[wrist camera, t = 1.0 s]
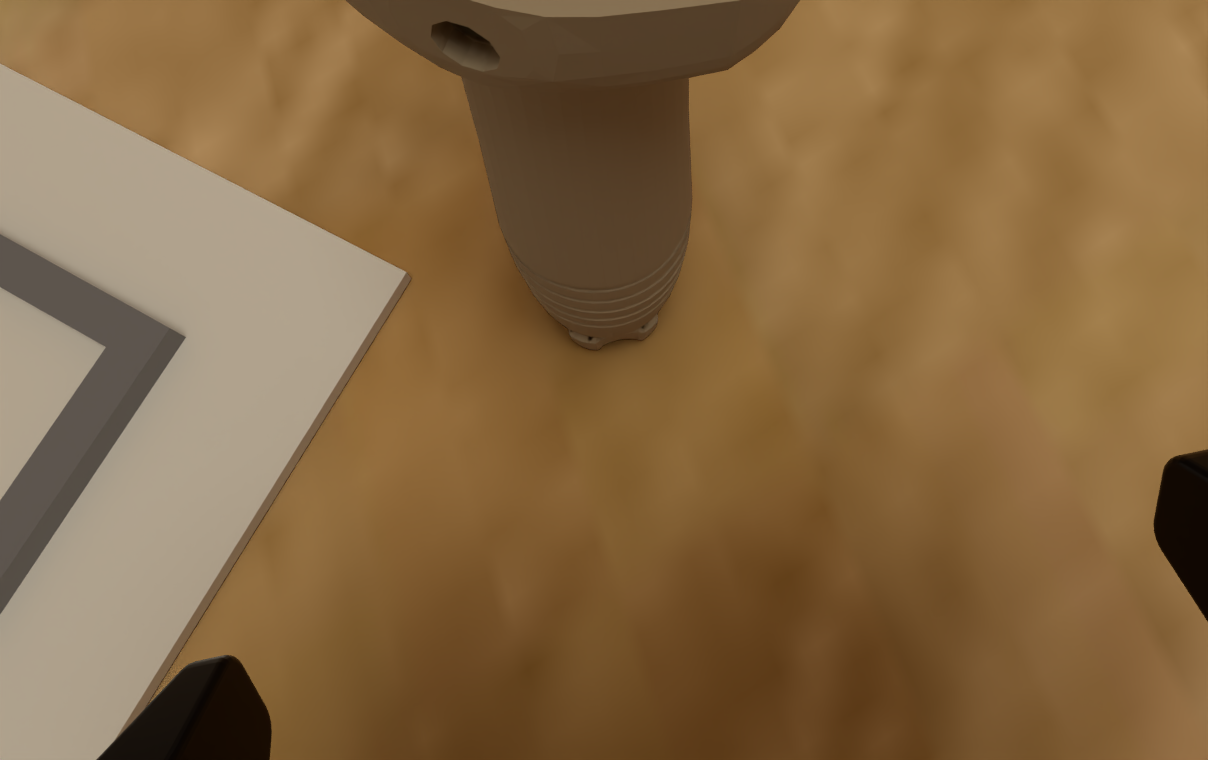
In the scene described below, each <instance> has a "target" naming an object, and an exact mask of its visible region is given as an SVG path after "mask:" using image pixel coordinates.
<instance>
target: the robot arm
mask: <svg viewBox="0 0 1208 760" xmlns="http://www.w3.org/2000/svg"><path fill="white" fill-rule="evenodd" d="M1154 533H1155V536H1156V540H1157V542H1158V545H1159V547H1160V548H1161V550H1162V552H1163V553H1164V555H1165V557H1166V558H1167V560H1168V561H1169V563H1170V564H1171V566H1172V567H1173V569H1174V570H1175V572H1176V573H1177V575H1178V577H1179V578H1180V580H1181V581H1182V583H1183V584H1184V586H1185V587H1186V589H1187V590H1188V592H1189V594H1190V595H1191V597H1192V598H1193V600H1194V601H1195V603H1196V604H1197V606H1198V607H1199V609H1200V610H1201V612H1202V614H1203V615H1204V617H1205V618H1206V620H1207V621H1208V450H1202V451H1198V452H1193V453H1188V454H1183V455H1178V456H1175V457H1173V458H1171V459H1170V460H1169V461H1168V462H1167V464H1166V465H1165V467H1164V470H1163V474H1162V480H1161V485H1160V490H1159V496H1158V501H1157V506H1156V512H1155V517H1154ZM271 734H272V731H271V721H270V716H269V713H268V710H267V708H266V706H265V704H264V702H263V700H262V699H261V697H260V695H259V693H258V692H257V690H256V688H255V686H254V684H253V683H252V681H251V679H250V677H249V676H248V674H247V672H246V670H245V668H244V667H243V665H242V664H241V662H240V661H239V660H238V659H237V658H236V657H234V656H231V655H224V656H219V657H214V658H209V659H205V660H200V661H195V662H193V663H190V664H188V665H187V666H186V667H184V668H183V669H182V670H181V671H180V672H179V673H178V674H177V675H176V676H175V677H174V678H173V679H172V681H171V682H170V683H169V684H168V685H167V686H166V687H165V688H164V689H163V690H162V691H161V692H160V693H159V694H158V695H157V696H156V697H155V698H154V699H153V701H152V702H151V703H150V704H149V705H148V706H147V707H146V708H145V709H144V710H143V711H142V712H141V713H140V714H139V715H138V716H137V717H136V718H135V719H134V720H133V722H132V723H131V724H130V725H129V726H128V727H127V728H126V729H125V730H124V731H123V732H122V733H121V734H120V735H119V736H118V737H117V738H116V739H115V740H114V742H113V743H112V744H111V745H110V746H109V747H108V748H107V749H106V750H105V751H104V752H103V753H102V754H101V755H100V756H99V757H98V758H97V759H96V760H269V759H270V748H271Z"/></svg>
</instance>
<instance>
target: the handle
mask: <svg viewBox="0 0 1208 760" xmlns="http://www.w3.org/2000/svg"><path fill="white" fill-rule="evenodd" d="M346 1H347V2H348V3H349V4H350V5H352V6H353V7H354V8H355V9H356V10H357V11H358V12H360V13H361V14H362V15H363V16H365V17H366V18H367V19H369V20H370V21H371V22H373V23H374V24H376V25H377V26H378V27H380V28H381V29H382V30H384V31H385V32H387V33H388V34H389V35H391V36H392V37H394V38H395V39H396V40H398V41H399V42H401V43H402V44H403V45H405V46H407V47H408V48H410V49H411V50H413V51H415V52H416V53H418V54H420V55H421V56H423V57H424V58H426V59H428V60H429V61H431V62H432V63H434V64H436V65H437V66H439V67H441V68H443V69H445V70H447V71H450V72H452V73H454V74H457V75H459V76H461V77H462V81H463V84H464V88H465V92H466V95H467V99H468V102H469V106H470V110H471V113H472V117H473V120H474V124H475V128H476V131H477V135H478V139H479V143H480V147H481V151H482V155H483V159H484V163H485V167H486V172H487V176H488V180H489V184H490V188H491V192H492V196H493V200H494V205H495V209H496V213H497V217H498V221H499V224H500V227H501V230H502V232H503V235H504V237H505V240H506V243H507V245H508V248H509V250H510V253H511V255H512V257H513V260H514V262H515V264H516V266H517V268H518V270H519V271H520V273H521V275H522V276H523V278H524V280H525V281H526V283H527V285H528V286H529V288H530V290H531V291H532V293H533V295H534V296H535V297H536V299H537V300H538V301H539V302H540V304H541V305H542V306H543V307H544V308H545V310H546V311H547V312H548V313H549V314H550V315H551V316H552V317H553V318H555V319H556V320H557V321H558V322H559V323H561V324H562V325H564V326H565V327H567V328H568V329H569V335H570V336H571V338H572V340H573V341H575V342H576V343H577V344H579V345H580V346H582V347H585V348H587V349H592V350H599V349H600V348H601V347H602V346H603V345H605V344H607V343H609V342H613V341H616V340H620V339H638V340H643V339H645V338H646V337H647V336H649V335H650V333H651V332H652V331H653V330H654V329H655V328H656V325H657V322H658V316H657V315H658V312H659V310H660V309H661V308H662V306H663V305H664V303H665V302H666V300H667V299H668V298H669V296H670V294H671V292H672V289H673V287H674V285H675V283H676V281H677V279H678V276H679V273H680V270H681V267H682V263H683V259H684V256H685V252H686V248H687V244H688V238H689V229H690V219H691V208H692V181H691V156H690V130H689V78H690V77H695V76H700V75H705V74H710V73H715V72H720V71H725V70H728V69H729V68H731V67H732V66H734V65H735V64H737V63H738V62H740V61H741V60H743V59H744V58H745V57H747V56H748V55H750V54H751V53H753V52H754V51H755V50H757V49H758V48H759V47H760V46H761V45H762V44H763V43H764V42H765V41H767V40H768V39H769V38H770V37H771V36H772V35H773V34H774V33H776V32H777V31H778V30H779V29H780V28H781V26H782V25H783V23H784V22H785V21H786V19H787V18H788V16H789V15H790V14H791V12H792V11H793V9H794V8H795V6H796V5H797V4H798V2H799V1H800V0H346Z"/></svg>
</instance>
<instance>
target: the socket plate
mask: <svg viewBox="0 0 1208 760" xmlns="http://www.w3.org/2000/svg"><path fill="white" fill-rule="evenodd" d="M410 280H411V278H410V276H409V275H408V274H407V272H405V271H403V270H401V269H399V268H397V267H395V266H394V265H392V264H390V263H388V262H386V261H384V260H382V259H380V258H378V257H376V256H374V255H372V254H370V253H368V252H366V251H364V250H362V249H360V248H358V247H356V246H355V245H353V244H351V243H349V242H347V241H345V240H343V239H341V238H339V237H337V236H335V235H333V234H331V233H329V232H327V231H325V230H323V229H321V228H319V227H317V226H316V225H314V224H312V223H310V222H308V221H306V220H304V219H302V218H300V217H298V216H296V215H294V214H292V213H290V212H288V211H286V210H284V209H282V208H280V207H279V206H277V205H275V204H273V203H271V202H269V201H267V200H265V199H263V198H261V197H259V196H257V195H255V194H253V193H251V192H249V191H247V190H245V189H243V188H241V187H240V186H238V185H236V184H234V183H232V182H230V181H228V180H226V179H224V178H222V177H220V176H218V175H216V174H214V173H212V172H210V171H208V170H206V169H204V168H202V167H201V166H199V165H197V164H195V163H193V162H191V161H189V160H187V159H185V158H183V157H181V156H179V155H177V154H175V153H173V152H171V151H169V150H167V149H165V148H163V147H162V146H160V145H158V144H156V143H154V142H152V141H150V140H148V139H146V138H144V137H142V136H140V135H138V134H136V133H134V132H132V131H130V130H128V129H126V128H125V127H123V126H121V125H119V124H117V123H115V122H113V121H111V120H109V119H107V118H105V117H103V116H101V115H99V114H97V113H95V112H93V111H91V110H89V109H87V108H86V107H84V106H82V105H80V104H78V103H76V102H74V101H72V100H70V99H68V98H66V97H64V96H62V95H60V94H58V93H56V92H54V91H52V90H50V89H48V88H47V87H45V86H43V85H41V84H39V83H37V82H35V81H33V80H31V79H29V78H27V77H25V76H23V75H21V74H19V73H17V72H15V71H13V70H11V69H10V68H8V67H6V66H4V65H2V64H0V760H96V759H97V758H98V757H99V756H100V755H101V754H102V753H103V752H104V751H105V750H106V749H107V748H108V747H109V746H110V745H111V744H112V743H113V742H114V740H115V739H116V738H117V737H118V736H119V735H120V734H121V733H122V732H123V731H124V730H125V729H126V728H127V727H128V726H129V725H130V724H131V723H132V722H133V720H134V719H135V718H136V717H137V716H138V715H139V714H140V713H141V712H142V711H143V710H144V709H145V707H146V705H147V704H148V702H149V701H150V699H151V697H152V696H153V694H154V693H155V691H156V689H157V688H158V686H159V685H160V683H161V681H162V680H163V678H164V676H165V675H166V673H167V672H168V670H169V668H170V667H171V665H172V664H173V662H174V660H175V659H176V657H177V656H178V654H179V652H180V651H181V649H182V648H183V646H184V644H185V643H186V641H187V639H188V638H189V636H190V635H191V633H192V631H193V630H194V628H195V627H196V625H197V623H198V622H199V620H200V619H201V617H202V615H203V614H204V612H205V610H206V609H207V607H208V606H209V604H210V602H211V601H212V599H213V598H214V596H215V594H216V593H217V591H218V590H219V588H220V586H221V585H222V583H223V581H224V580H225V578H226V577H227V575H228V573H229V572H230V570H231V569H232V567H233V565H234V564H235V562H236V561H237V559H238V557H239V556H240V554H241V552H242V551H243V549H244V548H245V546H246V544H247V543H248V541H249V540H250V538H251V536H252V535H253V533H254V532H255V530H256V528H257V527H258V525H259V524H260V522H261V520H262V519H263V517H264V515H265V514H266V512H267V511H268V509H269V507H270V506H271V504H272V503H273V501H274V499H275V498H276V496H277V495H278V493H279V491H280V490H281V488H282V486H283V485H284V483H285V482H286V480H287V478H288V477H289V475H290V474H291V472H292V470H293V469H294V467H295V466H296V464H297V462H298V461H299V459H300V457H301V456H302V454H303V453H304V451H305V449H306V448H307V446H308V445H309V443H310V441H311V440H312V438H313V437H314V435H315V433H316V432H317V430H318V429H319V427H320V425H321V424H322V422H323V420H324V419H325V417H326V416H327V414H328V412H329V411H330V409H331V408H332V406H333V404H334V403H335V401H336V400H337V398H338V396H339V395H340V393H341V391H342V390H343V388H344V387H345V385H346V383H347V382H348V380H349V379H350V377H351V375H352V374H353V372H354V371H355V369H356V367H357V366H358V364H359V362H360V361H361V359H362V358H363V356H364V354H365V353H366V351H367V350H368V348H369V346H370V345H371V343H372V342H373V340H374V338H375V337H376V335H377V333H378V332H379V330H380V329H381V327H382V325H383V324H384V322H385V321H386V319H387V317H388V316H389V314H390V313H391V311H392V309H393V308H394V306H395V305H396V303H397V301H398V300H399V298H400V296H401V295H402V293H403V292H404V290H405V288H406V287H407V285H408V284H409V282H410Z"/></svg>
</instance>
